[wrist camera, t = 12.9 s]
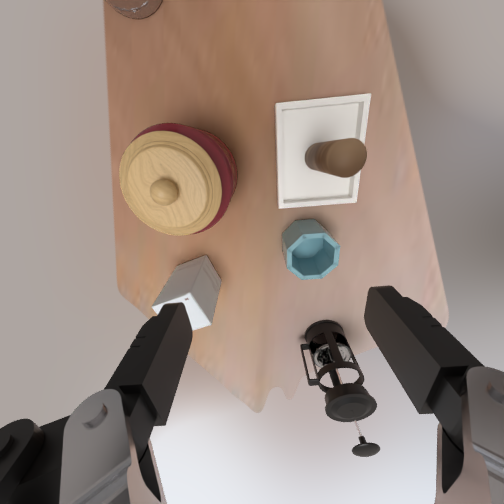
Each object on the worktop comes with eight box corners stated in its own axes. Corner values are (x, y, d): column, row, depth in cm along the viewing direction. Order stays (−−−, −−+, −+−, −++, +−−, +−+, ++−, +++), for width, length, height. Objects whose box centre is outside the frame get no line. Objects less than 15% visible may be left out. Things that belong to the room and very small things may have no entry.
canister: (153, 131, 34) (64, 120, 18) (235, 127, 33) (217, 112, 18) (170, 211, 40) (115, 256, 24) (240, 209, 39) (230, 253, 23)
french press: (346, 317, 51) (408, 435, 30) (345, 344, 55) (399, 464, 34) (296, 323, 52) (324, 441, 31) (299, 349, 56) (325, 468, 35)
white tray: (274, 105, 32) (275, 103, 30) (363, 96, 31) (371, 93, 29) (277, 204, 39) (278, 208, 36) (350, 199, 38) (356, 202, 36)
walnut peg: (304, 144, 34) (330, 140, 23) (330, 141, 33) (368, 135, 22) (304, 171, 35) (328, 179, 24) (329, 168, 35) (364, 175, 24)
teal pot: (281, 221, 40) (286, 235, 34) (328, 217, 40) (341, 231, 33) (282, 261, 44) (287, 280, 38) (324, 258, 44) (336, 277, 37)
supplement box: (175, 265, 45) (149, 306, 33) (207, 253, 43) (190, 292, 32) (192, 291, 48) (173, 337, 37) (222, 281, 46) (212, 325, 35)
